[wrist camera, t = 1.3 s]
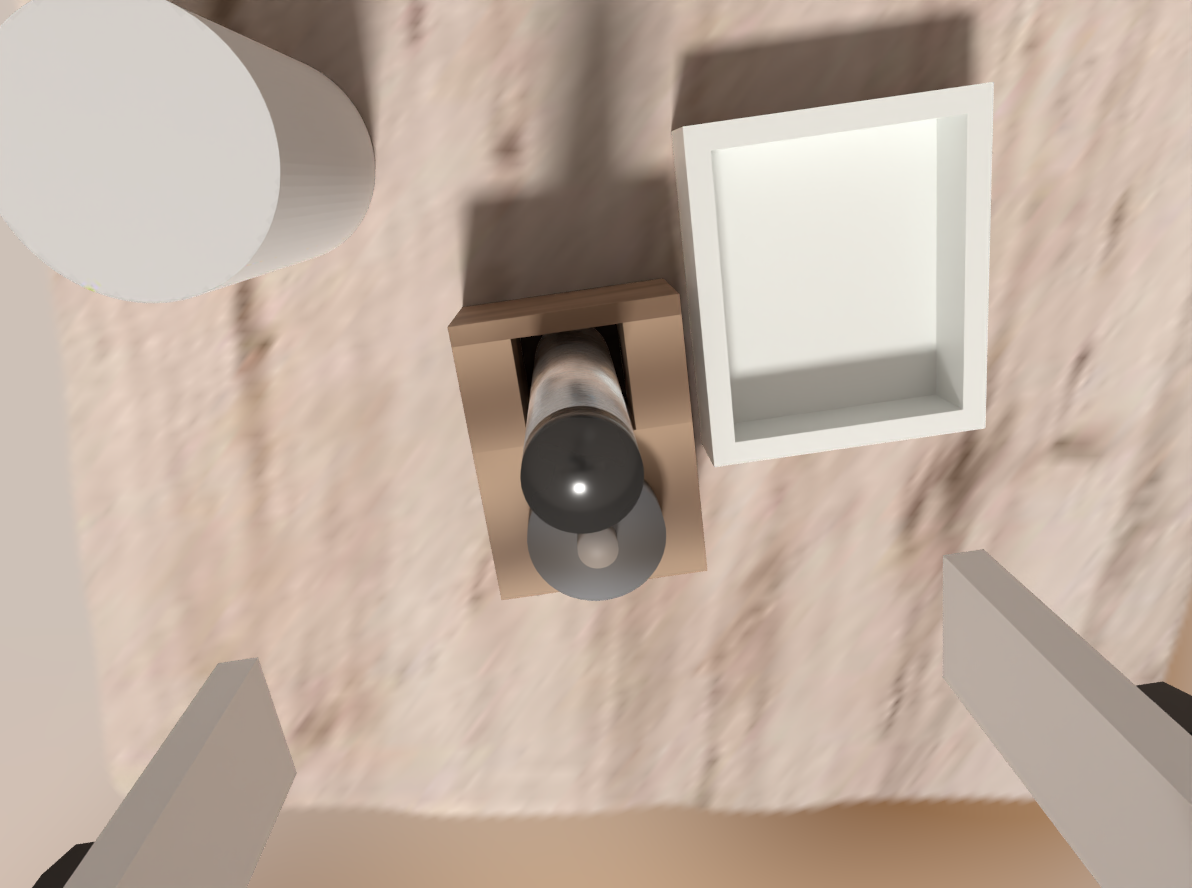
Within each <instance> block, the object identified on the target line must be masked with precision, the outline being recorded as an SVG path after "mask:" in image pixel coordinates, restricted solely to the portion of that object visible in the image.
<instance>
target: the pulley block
mask: <svg viewBox="0 0 1192 888" xmlns="http://www.w3.org/2000/svg"><path fill="white" fill-rule="evenodd" d="M612 324H617V331H618V339H619V346H620V354H621V362H622V370H623V378H624V385H625V393H626V398H623V399H624V402H625V405H626V409H627V412H628V415H629V419H630V422H631V425H632V428H633V432H634V435H635V438H636V442H637V445H638V448H639V452H640V455H641V458H642V462H643V467H644V484H643V488H642V492H641V494H640V497H639V499H638V501H637V503H636V505H635V506H634V508H633V509H632V510H631V511H630V513H629V514H628V515H627V516H626V517H625V518H623V519H622V520H621V521H620V522H618V523H617V524H615V525H613V526H611V527H609V528H607V529H605V530H602V531H599V532H594V533H586V534H576V533H569V532H565V531H561V530H558V529H556V528H554V527H552V526H550V525H548V524H546V523H545V522H544V521H542V520H541V519H540V518H539V517H538V516H537V515H536V514H535V513H534V512H533V511H532V509H531V508H530V507H529V505H528V503H527V502H526V500H525V497H524V495H523V492H522V488H521V480H520V472H521V463H522V455H523V448H524V440H525V432H526V424H527V416H528V408H529V400H530V394H529V388H528V382H527V376H526V370H525V364H524V358H523V352H522V346H521V340H520V338H521V337H528V336H535V335H542V334H549V333H556V332H563V331H570V330H577V329H584V328H591V327H598V326H605V325H612ZM448 332H449V337H450V342H451V347H452V352H453V357H454V362H455V367H456V372H457V377H458V382H459V387H460V392H461V397H462V402H463V408H464V413H465V418H466V423H467V428H468V433H469V438H470V443H471V448H472V453H473V458H474V463H475V468H476V473H477V478H478V483H479V488H480V493H481V499H482V504H483V509H484V514H485V519H486V524H487V529H488V534H489V539H490V544H491V549H492V554H493V559H494V564H495V569H496V574H497V579H498V584H499V589H500V595H501V600H506V599H513V598H520V597H527V596H534V595H541V594H548V593H555V592H561V593H563V594H565V595H568V596H570V597H574V598H577V599H582V600H590V601H600V600H608V599H613V598H617V597H620V596H623V595H625V594H627V593H629V592H632V591H633V590H635V589H636V588H638V587H639V586H641V585H642V584H643V583H644V582H646V581H647V579H652V578H659V577H666V576H673V575H680V574H687V573H694V572H701V571H707V562H706V552H705V542H704V532H703V522H702V512H701V502H700V493H699V483H698V473H697V463H696V453H695V443H694V433H693V423H692V413H691V403H690V394H689V384H688V374H687V364H686V354H685V344H684V334H683V324H682V314H681V305H680V295H679V293H678V292H677V291H676V290H675V289H674V288H673V287H672V286H671V285H669V284H668V283H667V282H666V281H665V280H664V279H663V278H662V279H655V280H648V281H641V282H634V283H627V284H620V285H613V286H606V287H600V288H593V289H586V290H579V291H572V292H565V293H558V294H551V295H544V296H537V297H530V298H523V299H516V300H509V301H502V302H495V303H488V304H481V305H474V306H467V307H462V308H461V310H460V311H459V312H458V314H457V315H456V317H455V318H454V319H453V321H452V322H451V323H450V325H449V326H448Z"/></svg>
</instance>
